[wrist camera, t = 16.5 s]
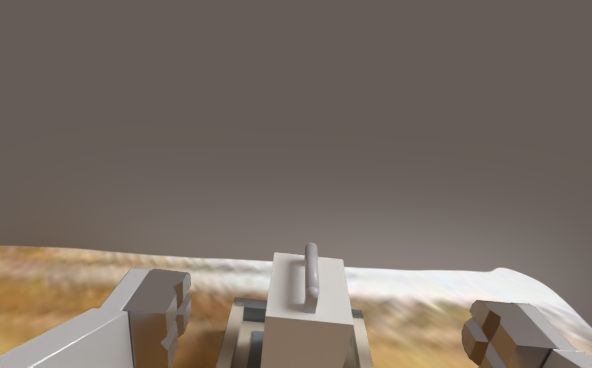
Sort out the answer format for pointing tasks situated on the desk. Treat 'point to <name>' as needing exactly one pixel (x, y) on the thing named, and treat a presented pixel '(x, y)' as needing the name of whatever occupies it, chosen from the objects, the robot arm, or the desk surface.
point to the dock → (250, 330)
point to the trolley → (307, 312)
